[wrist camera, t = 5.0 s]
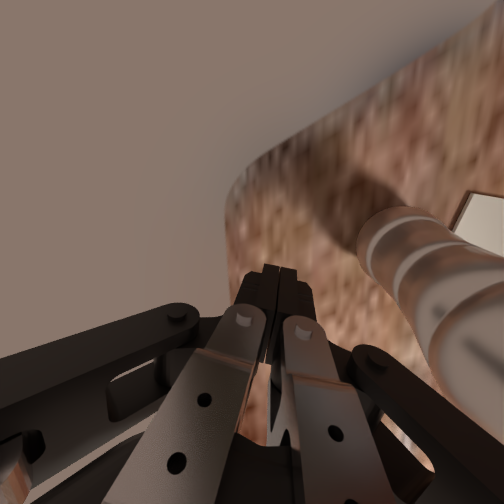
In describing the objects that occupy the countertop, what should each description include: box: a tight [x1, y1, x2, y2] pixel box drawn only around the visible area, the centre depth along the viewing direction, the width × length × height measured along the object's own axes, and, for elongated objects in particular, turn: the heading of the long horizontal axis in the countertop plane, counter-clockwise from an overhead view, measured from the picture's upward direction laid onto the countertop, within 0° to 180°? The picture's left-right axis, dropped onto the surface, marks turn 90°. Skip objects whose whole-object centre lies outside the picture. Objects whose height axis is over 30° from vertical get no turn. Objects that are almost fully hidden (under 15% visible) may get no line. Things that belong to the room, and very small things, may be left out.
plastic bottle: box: [356, 206, 504, 445], centre depth 13 cm, size 6×7×20 cm
